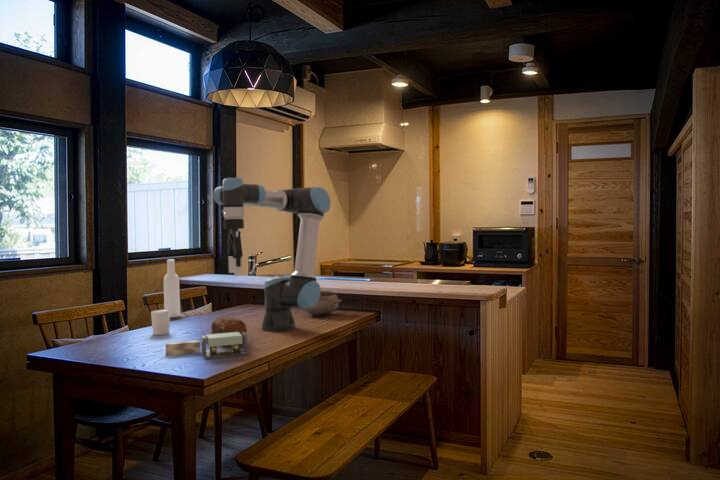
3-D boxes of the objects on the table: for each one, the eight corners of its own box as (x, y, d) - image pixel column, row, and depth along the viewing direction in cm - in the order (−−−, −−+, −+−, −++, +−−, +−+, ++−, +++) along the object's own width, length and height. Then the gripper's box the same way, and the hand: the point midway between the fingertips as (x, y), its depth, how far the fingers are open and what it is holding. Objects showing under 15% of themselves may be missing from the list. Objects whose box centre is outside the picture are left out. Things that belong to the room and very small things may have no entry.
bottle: (171, 318, 300) (170, 260, 299) (161, 317, 304) (159, 259, 303) (183, 315, 307) (181, 259, 306) (173, 314, 311) (171, 258, 310)
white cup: (164, 335, 252) (163, 312, 252) (148, 335, 254) (147, 312, 253) (173, 332, 260) (173, 309, 260) (157, 331, 261) (157, 309, 261)
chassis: (243, 348, 221) (242, 330, 221) (248, 355, 210) (248, 336, 210) (200, 352, 216) (200, 334, 216) (204, 359, 205) (203, 339, 204)
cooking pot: (289, 317, 296) (289, 293, 295) (310, 311, 312) (310, 289, 312) (331, 320, 283) (331, 295, 283) (350, 314, 300) (350, 290, 300)
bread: (247, 344, 230) (246, 319, 229) (220, 347, 225) (219, 322, 225) (236, 337, 246) (235, 313, 246) (210, 339, 242) (210, 315, 241)
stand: (199, 350, 220) (198, 340, 219) (200, 352, 217) (199, 341, 217) (165, 354, 215) (165, 343, 215) (166, 355, 212) (165, 344, 212)
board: (238, 339, 219) (238, 331, 219) (242, 343, 211) (242, 335, 211) (206, 342, 215) (205, 334, 214) (208, 346, 207) (208, 338, 207)
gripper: (219, 219, 232) (220, 272, 233) (228, 218, 209) (230, 277, 209) (238, 218, 235) (239, 271, 235) (249, 217, 211) (251, 276, 212)
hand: (235, 274), depth 222 cm, fingers open, 13 cm apart
